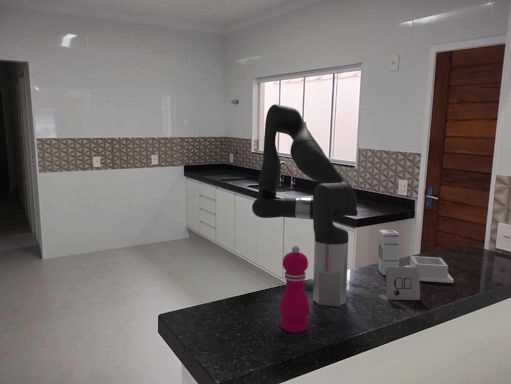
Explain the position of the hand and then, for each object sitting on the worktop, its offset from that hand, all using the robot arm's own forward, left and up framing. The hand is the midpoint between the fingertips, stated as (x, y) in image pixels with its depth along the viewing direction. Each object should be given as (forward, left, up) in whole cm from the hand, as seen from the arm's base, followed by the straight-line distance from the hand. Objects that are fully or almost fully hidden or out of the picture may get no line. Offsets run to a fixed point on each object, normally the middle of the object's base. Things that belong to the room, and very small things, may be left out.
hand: (356, 210), depth 143 cm
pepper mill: (-49, +16, -21) cm, 56 cm away
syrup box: (0, -11, -21) cm, 24 cm away
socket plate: (0, -24, -21) cm, 32 cm away
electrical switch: (-23, -12, -21) cm, 34 cm away
